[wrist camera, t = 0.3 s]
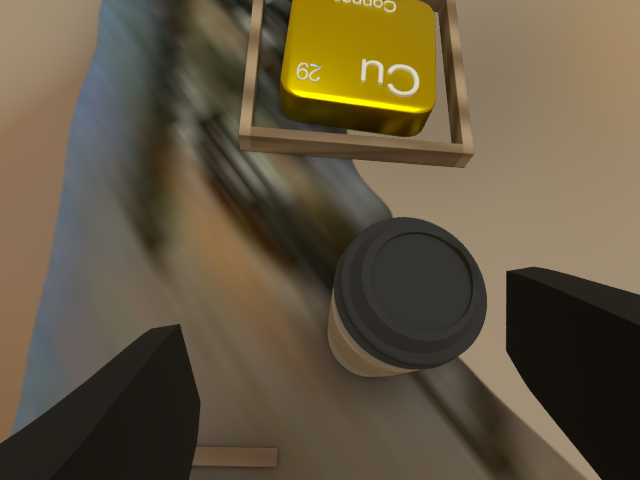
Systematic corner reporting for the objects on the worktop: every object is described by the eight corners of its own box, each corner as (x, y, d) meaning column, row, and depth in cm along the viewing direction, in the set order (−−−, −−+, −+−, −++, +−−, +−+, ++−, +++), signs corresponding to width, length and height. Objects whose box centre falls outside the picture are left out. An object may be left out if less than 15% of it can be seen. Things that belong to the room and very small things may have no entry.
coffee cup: (344, 411, 37) (391, 394, 23) (295, 308, 40) (311, 237, 26) (440, 361, 39) (535, 318, 26) (387, 266, 42) (447, 182, 28)
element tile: (423, 32, 54) (437, -4, 50) (423, 142, 48) (439, 112, 44) (293, 12, 53) (295, -26, 49) (276, 121, 47) (277, 89, 43)
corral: (464, 167, 47) (474, 153, 45) (240, 150, 45) (238, 134, 43) (445, 6, 56) (453, -12, 53) (257, -14, 54) (256, -35, 51)
